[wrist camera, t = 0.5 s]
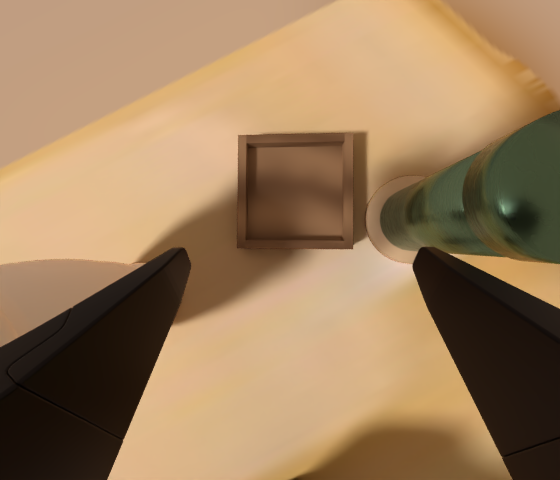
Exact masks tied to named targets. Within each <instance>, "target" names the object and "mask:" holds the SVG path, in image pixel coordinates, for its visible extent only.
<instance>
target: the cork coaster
mask: <svg viewBox="0 0 560 480" xmlns="http://www.w3.org/2000/svg"><path fill="white" fill-rule="evenodd" d="M424 178H426V177H423V176H416V175H409V176H402V177H399V178H396V179H393V180H391V181H389V182H388V183H386V184H384V185H383V186H382V187H381V188H379V189H378V190H377V191H376V192H375V194H374V195H373V196H372V198H371V200H370V201H369V204H368V206H367V210H366V215H365V225H366V230H367V234H368V236H369V238H370V241H371V242H372V244H373V245H374V246H375V248H376V249H377V250H378V251H379V252H380V253H381V254H383V255H384V256H386V257H388V258H389V259H391V260H394V261H397V262H401V263H407V264H413V262H414V259H415V257H416V255H417V253H418V251H407V250H402V249H400V248H398V247H396V246H394V245H393V244H391V243H390V242H389V241H388V240H387V238H386V237H385V236H384V234H383V232H382V229H381V225H380V213H381V210H382V207H383V205H384V203H385V202H386V200H387V199H388V198H389V197H390V196H391V195H393V194H394V193H396V192H397V191H400V190H402V189H404V188H406V187H408V186H410V185H412V184H414V183H416V182H418V181H420V180H422V179H424Z"/></svg>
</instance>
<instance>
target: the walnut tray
mask: <svg viewBox="0 0 560 480" xmlns="http://www.w3.org/2000/svg"><path fill="white" fill-rule="evenodd" d="M237 248H270V249H353V133H320V134H272V135H238V213H237Z"/></svg>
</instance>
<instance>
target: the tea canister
mask: <svg viewBox="0 0 560 480" xmlns="http://www.w3.org/2000/svg"><path fill="white" fill-rule="evenodd" d="M380 225H381V229H382V232H383V234H384V236H385V237H386V238H387V240H388V241H389V242H390V243H391V244H393V245H394V246H396V247H398V248H400V249H402V250H407V251H419V249H420V248H421V247H436V248H438V249H440V250H442V251H444V252H446V253H449V254H465V255H480V256H496V257H508V258H511V259H515V260H519V261H528V262H541V263H554V264H560V110H559V111H556V112H553V113H551V114H548V115H546V116H544V117H542V118H540V119H538V120H536V121H534V122H532V123H530V124H528V125H526V126H524V127H522V128H520V129H518V130H516V131H514V132H512V133H510V134H508V135H506V136H504V137H502V138H500V139H498V140H496V141H495V142H493V143H491V144H490V145H488V146H487V147H486V148H485V149H483V150H482V151H480V152H478V153H476V154H474V155H472V156H470V157H468V158H465V159H463V160H461V161H459V162H457V163H455V164H453V165H451V166H449V167H447V168H445V169H443V170H441V171H439V172H437V173H435V174H433V175H430V176H428V177H426V178H424V179H422V180H420V181H418V182H416V183H414V184H412V185H410V186H408V187H406V188H404V189H402V190H400V191H397V192H396V193H394V194H393V195H391V196H390V197H389V198H388V199H387V200H386V202H385V203H384V205H383V207H382V210H381V213H380Z"/></svg>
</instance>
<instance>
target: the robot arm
mask: <svg viewBox="0 0 560 480" xmlns="http://www.w3.org/2000/svg"><path fill="white" fill-rule="evenodd" d="M190 270H191V262H190V260H189V257H188V254H187V252H186V250H185V248H183V247H174V248H171V249H170V250H168V251H166V252H165V253H163V254H161V255H159V256H158V257H156V258H154V259H153V260H151V261H149V262H148V263H146V264H144V265H142V266H141V267H139V268H137V269H136V270H134V271H132V272H131V273H129V274H127V275H125V276H124V277H122V278H120V279H119V280H117V281H115V282H113V283H112V284H110V285H108V286H107V287H105V288H103V289H102V290H100V291H98V292H96V293H95V294H93V295H91V296H90V297H88V298H86V299H85V300H83V301H81V302H79V303H78V304H76V305H74V306H73V308H69V309H67V310H66V311H64V312H62V313H61V314H59V315H57V316H56V317H54V318H52V319H50V320H49V321H47V322H45V323H43V324H42V325H40V326H38V327H36V328H35V329H33V330H31V331H29V332H27V333H25V334H24V335H22V336H20V337H18V338H16V339H14V340H12V341H11V342H9V343H7V344H5V345H3V346H1V347H0V480H107V479H108V476H109V474H110V472H111V469H112V467H113V465H114V462H115V460H116V457H117V455H118V453H119V450H120V448H121V445H122V443H123V439H124V438H125V435H126V433H127V430H128V428H129V426H130V423H131V421H132V418H133V416H134V414H135V411H136V409H137V407H138V404H139V402H140V399H141V397H142V395H143V392H144V390H145V387H146V385H147V383H148V380H149V378H150V375H151V373H152V371H153V368H154V366H155V363H156V361H157V359H158V356H159V354H160V351H161V349H162V347H163V344H164V342H165V339H166V337H167V335H168V332H169V330H170V327H171V325H172V323H173V320H174V318H175V315H176V313H177V311H178V308H179V306H180V303H181V300H182V297H183V294H184V290H185V287H186V283H187V280H188V276H189V273H190ZM413 271H414V274H415V276H416V279H417V282H418V285H419V287H420V290H421V293H422V296H423V298H424V301H425V303H426V306H427V308H428V310H429V312H430V314H431V316H432V318H433V320H434V322H435V324H436V326H437V328H438V330H439V332H440V334H441V336H442V338H443V340H444V342H445V344H446V346H447V348H448V350H449V352H450V354H451V356H452V358H453V360H454V362H455V364H456V366H457V368H458V370H459V372H460V374H461V376H462V378H463V380H464V382H465V384H466V386H467V388H468V390H469V392H470V394H471V396H472V398H473V400H474V402H475V404H476V406H477V408H478V410H479V412H480V414H481V416H482V419H483V421H484V423H485V425H486V427H487V429H488V431H489V433H490V435H491V437H492V439H493V441H494V443H495V445H496V447H497V449H498V451H499V453H500V455H501V456H502V459H503V461H504V463H505V465H506V467H507V469H508V471H509V473H510V475H511V477H512V479H513V480H560V309H559V308H557V307H555V306H553V305H551V304H549V303H547V302H545V301H543V300H541V299H539V298H536V297H534V296H532V295H530V294H528V293H526V292H524V291H522V290H520V289H518V288H516V287H514V286H512V285H510V284H508V283H506V282H504V281H502V280H500V279H498V278H496V277H494V276H492V275H490V274H488V273H486V272H484V271H482V270H480V269H478V268H476V267H474V266H472V265H470V264H468V263H466V262H464V261H462V260H460V259H458V258H456V257H454V256H452V255H450V254H448V253H446V252H444V251H442V250H440V249H438V248H436V247H421V248H420V249H419V251H418V253H417V255H416V257H415V259H414V262H413Z"/></svg>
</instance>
